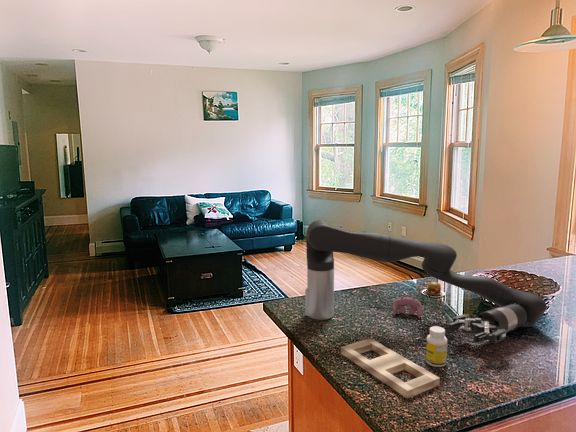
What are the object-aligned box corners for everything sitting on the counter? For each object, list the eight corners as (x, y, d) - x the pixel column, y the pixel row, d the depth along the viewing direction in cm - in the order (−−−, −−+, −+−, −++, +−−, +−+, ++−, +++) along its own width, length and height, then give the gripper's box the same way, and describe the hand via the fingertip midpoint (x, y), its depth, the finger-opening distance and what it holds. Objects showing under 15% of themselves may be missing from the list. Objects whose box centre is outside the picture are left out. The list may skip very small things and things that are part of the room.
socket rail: (340, 353, 126) (340, 347, 126) (370, 344, 131) (370, 338, 131) (407, 398, 104) (407, 390, 104) (439, 385, 109) (439, 377, 109)
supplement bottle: (422, 358, 123) (424, 325, 121) (441, 357, 123) (442, 324, 122) (430, 368, 117) (431, 334, 116) (449, 367, 118) (451, 333, 116)
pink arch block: (421, 319, 153) (422, 299, 155) (421, 318, 149) (422, 297, 150) (392, 316, 156) (394, 296, 158) (391, 315, 152) (393, 294, 154)
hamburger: (415, 289, 180) (415, 276, 179) (445, 290, 178) (446, 277, 178) (420, 300, 168) (420, 286, 167) (452, 301, 167) (453, 287, 166)
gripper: (477, 302, 138) (442, 312, 130) (521, 317, 126) (485, 330, 118) (476, 324, 139) (441, 336, 131) (519, 342, 127) (483, 356, 119)
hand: (461, 333), depth 124 cm, fingers open, 8 cm apart
